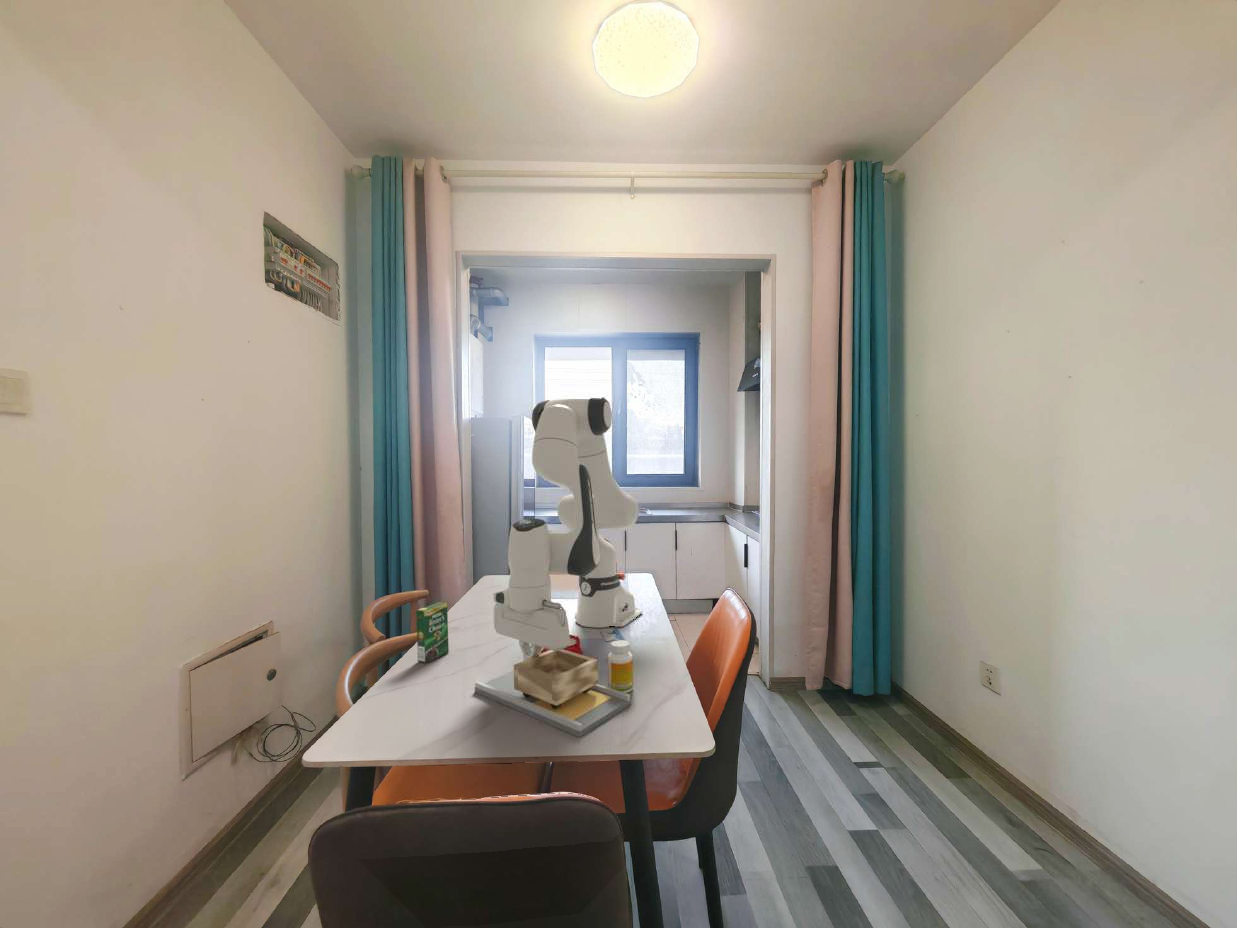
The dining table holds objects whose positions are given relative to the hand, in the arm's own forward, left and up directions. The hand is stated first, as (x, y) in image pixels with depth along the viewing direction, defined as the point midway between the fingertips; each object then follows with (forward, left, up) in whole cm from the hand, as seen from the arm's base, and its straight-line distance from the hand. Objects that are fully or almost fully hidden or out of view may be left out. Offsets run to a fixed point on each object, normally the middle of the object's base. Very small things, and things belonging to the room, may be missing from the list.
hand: (531, 662), depth 107 cm
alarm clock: (-17, -8, -7) cm, 20 cm away
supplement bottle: (-12, +14, -6) cm, 20 cm away
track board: (0, +5, -6) cm, 8 cm away
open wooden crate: (0, +7, -5) cm, 9 cm away
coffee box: (+2, -34, -6) cm, 35 cm away
